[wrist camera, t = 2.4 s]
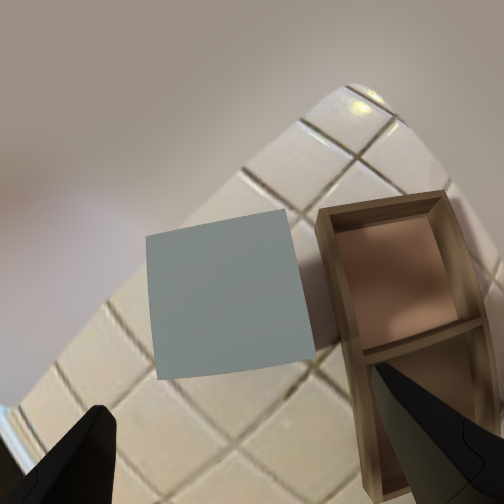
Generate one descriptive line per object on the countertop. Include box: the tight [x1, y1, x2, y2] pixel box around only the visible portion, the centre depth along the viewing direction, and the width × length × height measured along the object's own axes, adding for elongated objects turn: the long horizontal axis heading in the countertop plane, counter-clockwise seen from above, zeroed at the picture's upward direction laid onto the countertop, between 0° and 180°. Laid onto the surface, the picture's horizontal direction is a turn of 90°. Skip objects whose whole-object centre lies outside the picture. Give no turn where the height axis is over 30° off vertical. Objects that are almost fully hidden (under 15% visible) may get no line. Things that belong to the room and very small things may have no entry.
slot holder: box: [314, 190, 501, 504], centre depth 16 cm, size 18×9×3 cm, turn 9°
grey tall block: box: [146, 209, 317, 380], centre depth 14 cm, size 5×5×10 cm
